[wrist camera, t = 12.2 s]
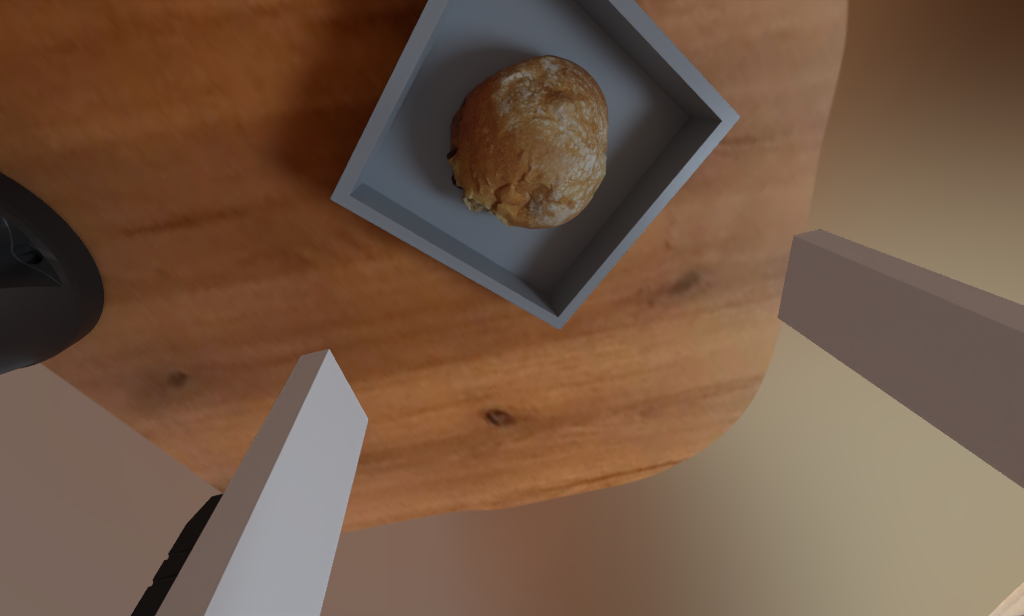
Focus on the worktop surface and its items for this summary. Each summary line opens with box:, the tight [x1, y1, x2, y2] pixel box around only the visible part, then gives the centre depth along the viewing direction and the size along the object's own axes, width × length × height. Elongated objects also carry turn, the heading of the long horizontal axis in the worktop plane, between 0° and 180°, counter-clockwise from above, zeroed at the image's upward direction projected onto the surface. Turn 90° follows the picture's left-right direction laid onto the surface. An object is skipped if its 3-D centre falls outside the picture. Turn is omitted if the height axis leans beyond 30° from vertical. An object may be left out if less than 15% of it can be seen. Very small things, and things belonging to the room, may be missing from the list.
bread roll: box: [446, 55, 609, 229], centre depth 24 cm, size 10×10×8 cm
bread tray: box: [331, 0, 740, 330], centre depth 25 cm, size 18×18×4 cm
